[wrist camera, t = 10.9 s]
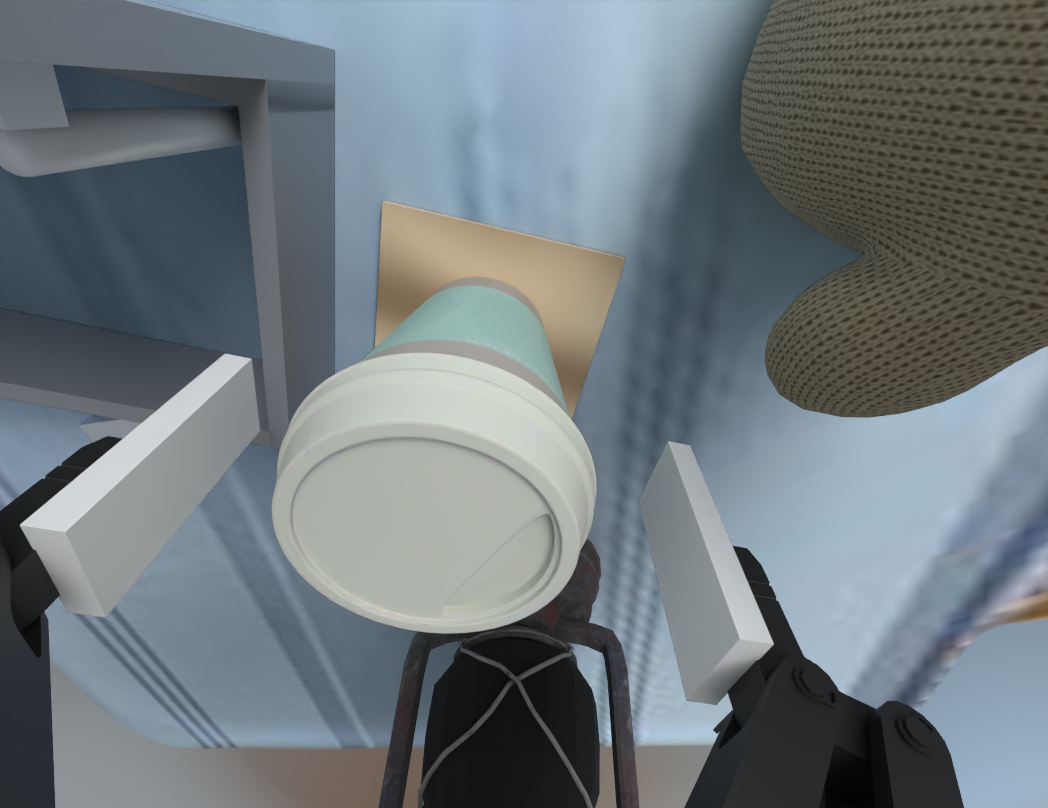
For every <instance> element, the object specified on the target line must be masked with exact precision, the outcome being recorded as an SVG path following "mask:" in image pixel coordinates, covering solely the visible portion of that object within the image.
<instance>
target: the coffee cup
mask: <svg viewBox="0 0 1048 808" xmlns="http://www.w3.org/2000/svg"><path fill="white" fill-rule="evenodd" d="M596 491H597V481H596V472H595V466H594V462H593V459H592V456H591V453H590V450H589V448H588V446H587V443H586V441H585V440H584V438H583V436H582V434H581V433H580V431H579V429H578V428H577V427H576V425H575V424H574V422H573V421H572V420H571V419H570V417H569V414H568V411H567V407H566V404H565V400H564V397H563V393H562V389H561V386H560V382H559V379H558V375H557V372H556V368H555V365H554V361H553V358H552V354H551V350H550V347H549V343H548V340H547V337H546V333H545V330H544V326H543V323H542V320H541V318H540V315H539V313H538V311H537V310H536V308H535V306H534V305H533V304H532V302H531V301H530V300H529V299H528V298H527V297H526V296H525V295H524V294H523V293H522V292H520V291H519V290H518V289H516V288H515V287H513V286H511V285H509V284H508V283H505V282H503V281H500V280H497V279H493V278H489V277H466V278H461V279H457V280H455V281H452V282H450V283H448V284H446V285H444V286H442V287H441V288H440V289H438V290H437V291H436V292H435V293H434V294H433V295H431V296H430V297H429V298H428V299H427V300H426V301H425V302H424V303H423V304H421V305H420V306H419V307H418V308H417V309H416V310H415V311H414V312H413V313H412V314H411V315H410V316H409V317H408V318H406V319H405V320H404V321H403V322H402V323H401V324H400V325H399V326H398V327H397V328H396V329H395V330H394V331H393V332H391V333H390V334H389V335H388V336H387V337H386V338H385V339H384V340H383V341H382V342H381V343H380V344H379V345H378V346H377V347H375V348H374V349H373V350H372V351H371V352H370V353H369V354H368V355H367V356H366V357H365V358H364V359H363V360H362V361H360V362H359V363H358V364H355V365H352V366H350V367H348V368H346V369H344V370H342V371H340V372H338V373H336V374H334V375H333V376H331V377H329V378H328V379H327V380H325V381H324V382H322V383H321V384H320V385H319V386H317V387H316V388H315V389H314V390H313V391H312V392H311V393H310V394H309V395H308V396H307V397H306V398H305V400H304V401H303V402H302V403H301V405H300V406H299V408H298V409H297V411H296V413H295V414H294V416H293V418H292V420H291V423H290V425H289V428H288V431H287V433H286V435H285V437H284V439H283V442H282V444H281V447H280V450H279V455H278V461H277V482H276V486H275V490H274V494H273V499H272V521H273V526H274V530H275V534H276V537H277V539H278V542H279V544H280V546H281V548H282V550H283V552H284V554H285V555H286V557H287V558H288V560H289V561H290V563H291V564H292V566H293V567H294V568H295V569H296V570H297V572H298V573H299V574H300V575H301V576H302V577H303V578H304V579H305V580H306V581H307V582H308V583H309V584H310V585H311V586H313V587H314V588H315V589H316V590H318V591H319V592H320V593H322V594H323V595H324V596H326V597H327V598H329V599H330V600H332V601H333V602H335V603H337V604H338V605H340V606H342V607H344V608H346V609H348V610H350V611H352V612H354V613H356V614H358V615H361V616H363V617H366V618H368V619H371V620H373V621H376V622H379V623H382V624H386V625H390V626H393V627H397V628H402V629H407V630H412V631H420V632H428V633H443V634H446V633H469V632H477V631H484V630H489V629H494V628H498V627H501V626H505V625H508V624H511V623H513V622H516V621H518V620H521V619H523V618H525V617H527V616H529V615H531V614H533V613H535V612H537V611H538V610H540V609H541V608H542V607H544V606H545V605H547V604H548V603H549V602H550V601H551V600H553V599H554V598H555V597H556V596H557V595H558V594H559V593H560V592H561V591H562V589H563V588H564V587H565V585H566V584H567V582H568V581H569V580H570V578H571V576H572V574H573V572H574V569H575V567H576V565H577V561H578V557H579V553H580V550H581V548H582V547H583V545H584V543H585V541H586V539H587V537H588V534H589V532H590V529H591V526H592V521H593V516H594V506H595V500H596Z"/></svg>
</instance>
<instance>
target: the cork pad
mask: <svg viewBox="0 0 1048 808" xmlns="http://www.w3.org/2000/svg"><path fill="white" fill-rule="evenodd" d="M625 260H626V259H625V257H623V256H618V255H614V254H610V253H606V252H601V251H597V250H593V249H589V248H584V247H580V246H576V245H572V244H568V243H563V242H559V241H555V240H551V239H546V238H542V237H538V236H534V235H529V234H525V233H521V232H517V231H512V230H508V229H504V228H500V227H495V226H491V225H487V224H483V223H479V222H474V221H470V220H466V219H462V218H457V217H453V216H449V215H445V214H440V213H436V212H432V211H428V210H423V209H419V208H415V207H411V206H406V205H402V204H398V203H394V202H390V201H384V202H382V220H381V239H380V258H379V277H378V296H377V315H376V334H375V347H377V346H378V345H379V344H380V343H381V342H382V341H383V340H384V339H385V338H386V337H387V336H388V335H389V334H390V333H391V332H393V331H394V330H395V329H396V328H397V327H398V326H399V325H400V324H401V323H402V322H403V321H404V320H405V319H406V318H408V317H409V316H410V315H411V314H412V313H413V312H414V311H415V310H416V309H417V308H418V307H419V306H420V305H421V304H423V303H424V302H425V301H426V300H427V299H428V298H429V297H430V296H431V295H433V294H434V293H435V292H436V291H437V290H438V289H440V288H441V287H442V286H444V285H446V284H448V283H450V282H452V281H455V280H457V279H461V278H466V277H489V278H493V279H497V280H500V281H503V282H505V283H508V284H509V285H511V286H513V287H515V288H516V289H518V290H519V291H520V292H522V293H523V294H524V295H525V296H526V297H527V298H528V299H529V300H530V301H531V302H532V304H533V305H534V306H535V308H536V310H537V311H538V313H539V315H540V318H541V320H542V323H543V326H544V330H545V333H546V337H547V340H548V343H549V347H550V350H551V354H552V358H553V361H554V365H555V368H556V372H557V375H558V379H559V382H560V386H561V389H562V393H563V397H564V400H565V404H566V407H567V411H568V414H569V417H570V419H571V420H572V417H573V414H574V411H575V408H576V405H577V402H578V399H579V396H580V393H581V390H582V387H583V385H584V382H585V379H586V376H587V373H588V370H589V367H590V364H591V361H592V358H593V355H594V352H595V349H596V346H597V343H598V340H599V337H600V334H601V331H602V328H603V325H604V322H605V319H606V316H607V313H608V311H609V308H610V305H611V302H612V299H613V296H614V293H615V290H616V287H617V284H618V281H619V278H620V275H621V272H622V269H623V266H624V263H625Z"/></svg>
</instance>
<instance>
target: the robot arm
mask: <svg viewBox="0 0 1048 808" xmlns="http://www.w3.org/2000/svg"><path fill="white" fill-rule="evenodd" d="M259 431H260V426H259V417H258V409H257V400H256V391H255V383H254V374H253V366H252V359H251V358H246V357H240V356H235V355H230V354H224V355H223V356H221V357H220V358H219V359H218V360H217V361H215V362H214V363H213V364H212V365H211V366H209V367H208V368H207V369H206V370H205V371H203V372H202V373H201V374H200V375H199V376H198V377H196V378H195V379H194V380H193V381H192V382H190V383H189V384H188V385H187V386H186V387H184V388H183V389H182V390H181V391H180V392H178V393H177V394H176V395H175V396H174V397H172V398H171V399H170V400H169V401H168V402H166V403H165V404H164V405H163V406H162V407H160V408H159V409H158V410H157V411H156V412H154V413H153V414H152V415H151V416H150V417H148V418H147V419H146V420H145V421H144V422H142V423H141V424H140V425H139V426H138V427H136V428H135V429H134V430H133V431H132V432H130V433H129V434H128V435H127V436H126V437H124V438H117V437H111V436H106V437H104V438H102V439H100V440H97V441H95V442H93V443H91V444H88V445H86V446H84V447H82V448H80V449H79V450H78V451H77V452H75V453H74V454H73V455H71V456H70V457H69V458H68V459H66V460H65V461H64V462H62V465H61V466H57V467H56V468H55V469H54V470H52V471H51V472H50V473H48V474H47V475H46V477H45V479H41V480H39V481H38V482H37V483H36V484H34V485H33V486H32V487H30V488H29V489H28V490H27V491H25V492H24V493H23V494H21V495H20V496H19V497H18V498H16V499H15V500H14V501H12V502H11V503H10V504H9V505H7V506H6V507H5V508H3V509H2V510H1V511H0V808H55V789H54V762H53V736H52V710H51V683H50V656H49V629H48V619H47V617H46V614H45V612H44V611H45V610H46V609H47V608H48V607H49V606H50V605H51V604H52V603H53V602H54V601H55V599H56V598H57V597H58V596H59V597H60V599H61V601H62V603H63V605H64V606H65V608H66V610H67V612H70V613H77V614H84V615H91V616H98V617H105V618H106V617H107V616H108V615H109V613H110V612H111V611H112V610H113V609H114V607H115V606H116V605H117V604H118V603H119V601H120V600H121V599H122V598H123V596H124V595H125V594H126V593H127V592H128V590H129V589H130V588H131V587H132V586H133V584H134V583H135V582H136V581H137V579H138V578H139V577H140V576H141V575H142V573H143V572H144V571H145V570H146V569H147V567H148V566H149V565H150V564H151V562H152V561H153V560H154V559H155V558H156V556H157V555H158V554H159V553H160V552H161V550H162V549H163V548H164V547H165V545H166V544H167V543H168V542H169V541H170V539H171V538H172V537H173V536H174V535H175V533H176V532H177V531H178V530H179V528H180V527H181V526H182V525H183V524H184V522H185V521H186V520H187V519H188V518H189V516H190V515H191V514H192V513H193V511H194V510H195V509H196V508H197V507H198V505H199V504H200V503H201V502H202V501H203V499H204V498H205V497H206V496H207V494H208V493H209V492H210V491H211V490H212V488H213V487H214V486H215V485H216V484H217V482H218V481H219V480H220V479H221V477H222V476H223V475H224V474H225V473H226V471H227V470H228V469H229V468H230V467H231V465H232V464H233V463H234V462H235V460H236V459H237V458H238V457H239V456H240V454H241V453H242V452H243V451H244V450H245V448H246V447H247V446H248V445H249V443H250V442H251V441H252V440H253V439H254V437H255V436H256V435H257V434H258V433H259ZM639 504H640V509H641V513H642V517H643V521H644V525H645V530H646V534H647V538H648V542H649V546H650V550H651V555H652V559H653V563H654V567H655V571H656V575H657V580H658V584H659V588H660V592H661V596H662V601H663V605H664V609H665V613H666V617H667V621H668V626H669V630H670V634H671V638H672V642H673V647H674V651H675V655H676V659H677V663H678V667H679V672H680V676H681V680H682V684H683V688H684V693H685V697H686V701H693V702H700V703H707V704H714V705H717V704H718V703H719V702H720V700H721V699H722V698H723V697H724V696H725V695H726V694H727V693H728V695H729V698H730V701H731V704H732V707H733V710H732V711H731V712H730V713H729V714H728V715H727V716H726V717H725V718H724V719H723V720H722V721H721V722H720V723H719V724H718V725H717V726H716V727H715V728H714V729H713V730H714V731H715V732H716V733H717V734H718V733H719V735H718V737H717V739H716V741H715V743H714V745H713V748H712V750H711V752H710V754H709V756H708V758H707V760H706V763H705V765H704V767H703V769H702V771H701V773H700V775H699V778H698V780H697V782H696V784H695V786H694V788H693V790H692V793H691V795H690V797H689V799H688V801H687V803H686V806H685V808H964V806H963V802H962V798H961V794H960V790H959V787H958V782H957V779H956V774H955V770H954V767H953V762H952V758H951V755H950V753H949V750H948V748H947V746H946V743H945V741H944V740H943V738H942V737H941V736H940V734H939V733H938V731H937V730H936V728H935V727H934V726H933V725H932V724H931V723H930V722H929V721H928V720H927V719H926V718H925V717H924V716H923V715H921V714H920V713H918V712H917V711H916V710H914V709H913V708H911V707H910V706H908V705H906V704H903V703H901V702H898V701H887V702H885V703H884V704H883V705H881V706H880V707H879V708H877V709H875V708H873V707H871V706H869V705H866V704H864V703H862V702H860V701H858V700H856V699H854V698H852V697H850V696H847V695H845V694H843V693H841V692H840V691H838V688H837V686H836V685H835V684H834V682H833V681H832V680H831V678H830V677H829V675H828V674H827V673H825V672H824V671H823V670H822V669H821V668H820V667H819V666H818V665H816V664H815V663H813V662H811V661H810V660H808V659H806V658H805V657H804V655H803V654H802V652H801V649H800V647H799V645H798V643H797V641H796V639H795V636H794V634H793V632H792V630H791V628H790V626H789V624H788V621H787V619H786V617H785V615H784V613H783V611H782V609H781V606H780V604H779V602H778V601H776V596H775V593H774V591H773V589H772V587H771V586H769V581H768V578H767V576H766V574H765V572H764V570H763V568H762V566H761V564H760V563H759V562H758V561H757V559H756V558H755V557H754V556H753V555H752V554H751V552H750V551H749V550H748V549H747V548H742V547H736V546H732V543H731V541H730V539H729V536H728V534H727V532H726V529H725V527H724V524H723V522H722V520H721V517H720V515H719V513H718V510H717V508H716V505H715V503H714V501H713V498H712V496H711V494H710V491H709V489H708V487H707V484H706V482H705V479H704V477H703V475H702V472H701V470H700V468H699V465H698V463H697V460H696V458H695V456H694V453H693V451H692V449H691V446H690V445H685V444H680V443H675V442H670V441H668V442H667V444H666V446H665V448H664V450H663V452H662V454H661V456H660V458H659V460H658V462H657V464H656V466H655V468H654V470H653V472H652V474H651V476H650V478H649V480H648V482H647V484H646V486H645V488H644V490H643V492H642V494H641V496H640V498H639Z"/></svg>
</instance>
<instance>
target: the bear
mask: <svg viewBox="0 0 1048 808" xmlns="http://www.w3.org/2000/svg"><path fill="white" fill-rule="evenodd" d="M740 133H741V145H742V150H743V152H744V154H745V155H746V157H747V158H748V160H749V162H750V163H751V165H752V166H753V168H754V170H755V171H756V173H757V175H758V176H759V178H760V179H761V181H762V183H763V184H764V186H765V187H766V188H767V189H768V190H769V192H770V193H771V194H772V195H773V196H774V198H775V199H776V200H777V201H778V202H779V204H780V205H781V206H782V207H784V208H785V209H787V210H788V211H789V212H791V213H792V214H794V215H795V216H796V217H798V218H799V219H801V220H802V221H804V222H805V223H806V224H808V225H810V226H811V227H813V228H814V229H816V230H817V231H819V232H820V233H822V234H823V235H825V236H827V237H828V238H830V239H831V240H833V241H835V242H837V243H840V244H842V245H844V246H846V247H849V248H851V249H853V250H855V251H858V252H860V253H863V255H862V256H861V257H860V258H859V259H858V260H856V261H854V262H852V263H850V264H848V265H846V266H844V267H842V268H840V269H837V270H835V271H833V272H831V273H829V274H828V275H826V276H824V277H823V278H821V279H819V280H818V281H817V282H815V283H814V284H813V285H811V286H810V287H809V288H807V289H806V290H805V291H804V292H803V293H802V294H801V295H800V296H798V297H797V298H796V299H795V300H794V301H793V303H792V304H791V305H790V306H789V307H788V308H787V310H786V311H785V312H784V313H783V314H782V315H781V317H780V318H779V319H778V320H777V321H776V322H775V324H774V325H773V328H772V330H771V332H770V334H769V336H768V341H767V346H766V351H765V364H766V369H767V374H768V376H769V378H770V380H771V381H772V383H773V385H774V386H775V388H776V389H777V391H778V393H779V394H780V395H782V396H783V397H785V398H786V399H787V400H789V401H790V402H792V403H794V404H795V405H797V406H799V407H801V408H802V409H805V410H810V411H815V412H820V413H825V414H830V415H835V416H840V417H877V416H885V415H893V414H900V413H904V412H908V411H912V410H917V409H920V408H923V407H927V406H930V405H934V404H937V403H941V402H944V401H946V400H948V399H950V398H953V397H955V396H957V395H959V394H961V393H963V392H966V391H968V390H970V389H971V388H973V387H975V386H976V385H978V384H980V383H982V382H983V381H985V380H987V379H989V378H990V377H992V376H994V375H995V374H997V373H999V372H1000V371H1002V370H1004V369H1005V368H1007V367H1008V366H1010V365H1012V364H1013V363H1015V362H1017V361H1019V360H1021V359H1023V358H1024V357H1026V356H1028V355H1030V354H1032V353H1034V352H1036V351H1038V350H1039V349H1042V348H1044V347H1046V346H1048V0H774V1H773V3H772V5H771V7H770V9H769V11H768V13H767V15H766V18H765V20H764V22H763V24H762V26H761V29H760V32H759V35H758V38H757V41H756V43H755V46H754V49H753V52H752V55H751V58H750V61H749V64H748V67H747V70H746V73H745V76H744V79H743V82H742V98H741V120H740Z"/></svg>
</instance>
